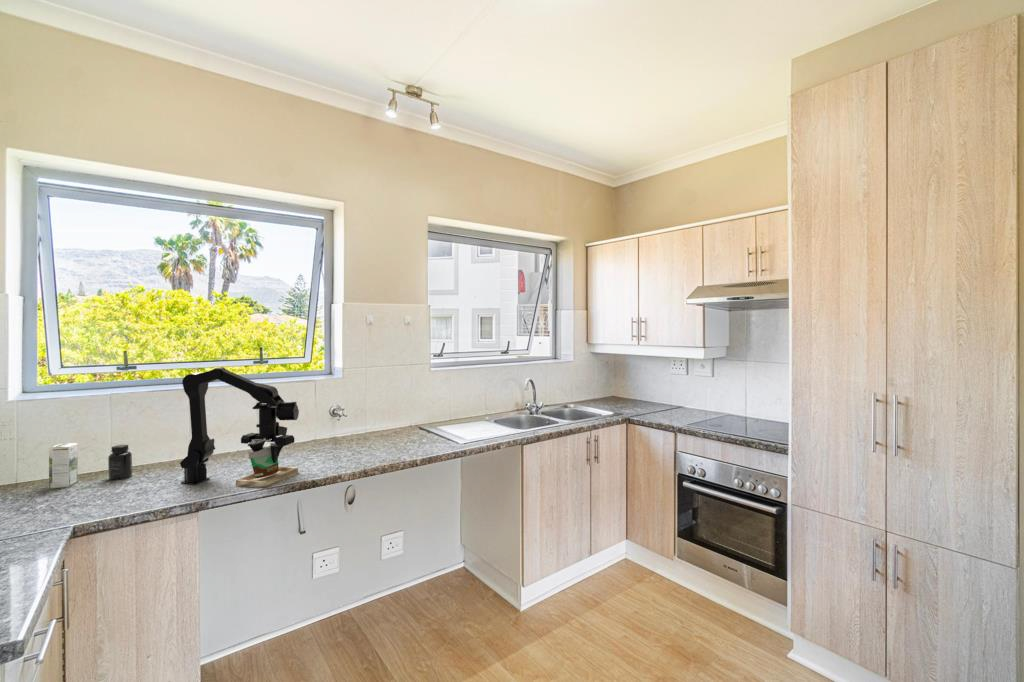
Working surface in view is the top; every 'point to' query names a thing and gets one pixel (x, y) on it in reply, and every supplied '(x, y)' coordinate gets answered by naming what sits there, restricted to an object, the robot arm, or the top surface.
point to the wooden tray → (267, 478)
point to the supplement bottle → (120, 463)
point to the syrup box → (63, 465)
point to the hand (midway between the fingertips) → (267, 462)
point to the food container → (263, 462)
